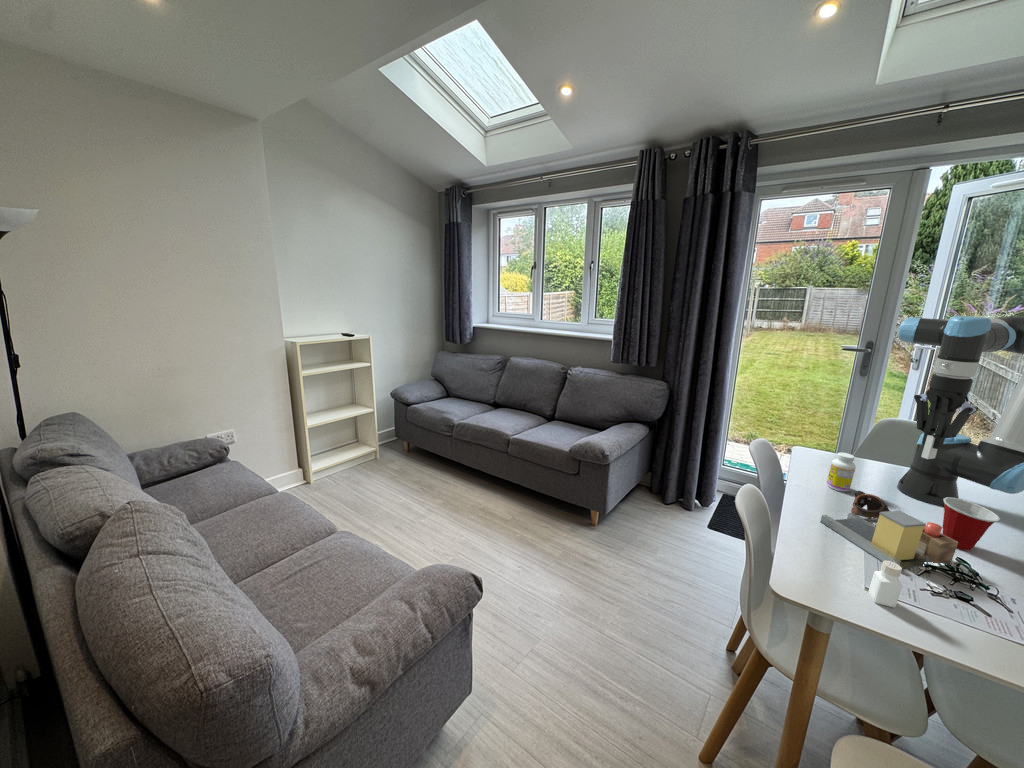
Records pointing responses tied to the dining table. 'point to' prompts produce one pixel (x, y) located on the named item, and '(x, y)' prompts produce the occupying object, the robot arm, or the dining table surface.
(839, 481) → the supplement bottle
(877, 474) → the dining table surface
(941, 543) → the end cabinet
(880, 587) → the white pill bottle
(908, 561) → the track
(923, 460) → the robot arm
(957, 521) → the plastic cup
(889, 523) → the carriage
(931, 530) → the ball
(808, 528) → the dining table surface
